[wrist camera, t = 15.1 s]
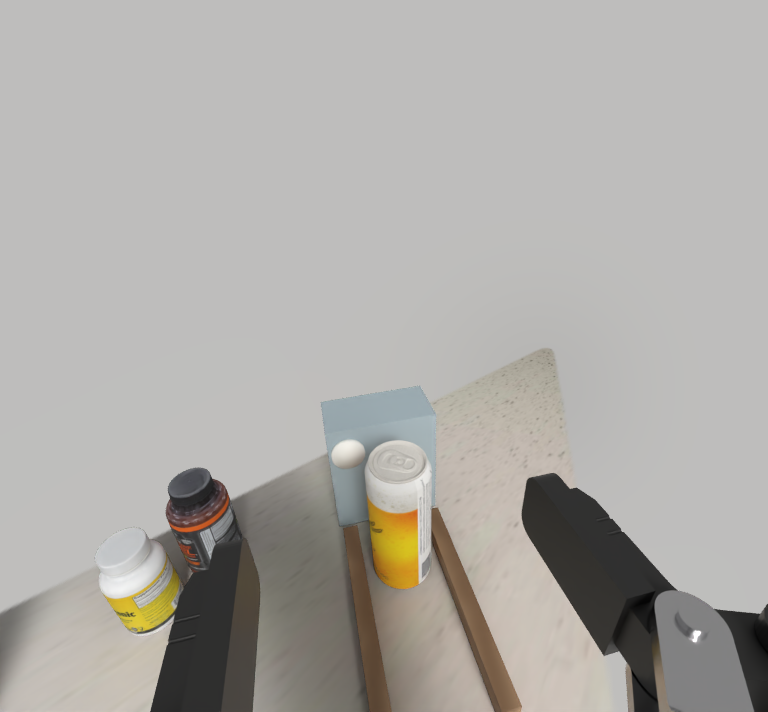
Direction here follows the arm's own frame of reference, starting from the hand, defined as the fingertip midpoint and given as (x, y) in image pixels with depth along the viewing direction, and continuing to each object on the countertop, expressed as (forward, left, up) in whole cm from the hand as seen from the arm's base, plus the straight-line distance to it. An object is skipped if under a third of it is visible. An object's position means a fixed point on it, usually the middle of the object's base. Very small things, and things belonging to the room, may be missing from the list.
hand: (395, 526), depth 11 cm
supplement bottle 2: (-16, +25, -30) cm, 42 cm away
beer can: (+4, +18, -30) cm, 36 cm away
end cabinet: (+4, +28, -30) cm, 41 cm away
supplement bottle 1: (-21, +20, -30) cm, 42 cm away
